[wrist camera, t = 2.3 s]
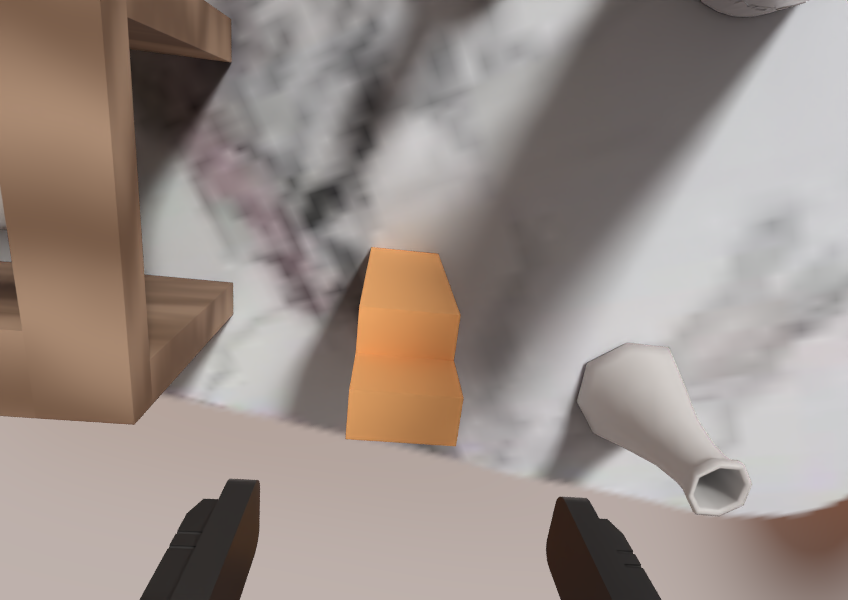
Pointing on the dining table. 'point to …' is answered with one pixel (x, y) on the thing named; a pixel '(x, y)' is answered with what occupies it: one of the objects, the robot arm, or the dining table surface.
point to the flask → (660, 424)
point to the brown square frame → (90, 212)
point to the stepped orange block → (405, 353)
